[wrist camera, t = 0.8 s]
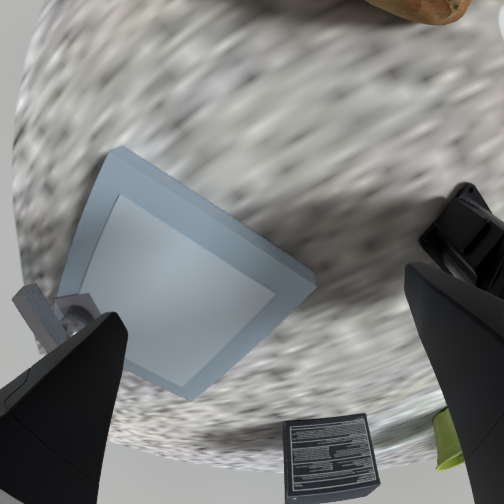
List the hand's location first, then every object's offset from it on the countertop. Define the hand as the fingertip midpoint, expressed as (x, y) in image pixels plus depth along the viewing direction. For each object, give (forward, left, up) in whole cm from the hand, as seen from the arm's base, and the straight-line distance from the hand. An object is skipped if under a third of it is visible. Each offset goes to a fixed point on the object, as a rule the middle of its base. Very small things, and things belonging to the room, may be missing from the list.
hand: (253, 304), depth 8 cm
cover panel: (+1, +12, -12) cm, 17 cm away
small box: (-25, +20, -12) cm, 34 cm away
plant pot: (-43, +9, -12) cm, 45 cm away
